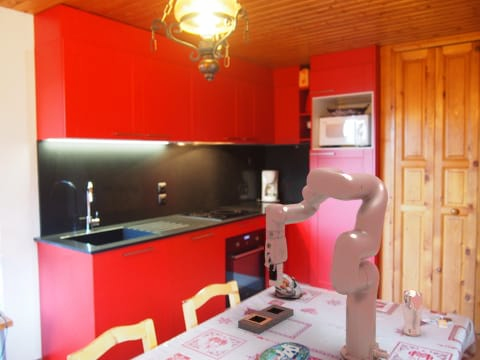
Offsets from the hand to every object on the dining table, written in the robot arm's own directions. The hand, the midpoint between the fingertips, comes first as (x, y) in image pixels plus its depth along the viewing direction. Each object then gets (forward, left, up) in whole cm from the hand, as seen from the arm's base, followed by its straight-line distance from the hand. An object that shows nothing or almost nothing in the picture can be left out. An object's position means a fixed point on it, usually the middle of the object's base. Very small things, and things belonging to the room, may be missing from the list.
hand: (276, 278), depth 163 cm
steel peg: (0, 0, -3) cm, 3 cm away
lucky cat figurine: (+11, -26, -17) cm, 33 cm away
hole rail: (0, +6, -16) cm, 18 cm away
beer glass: (-48, -20, -17) cm, 54 cm away
